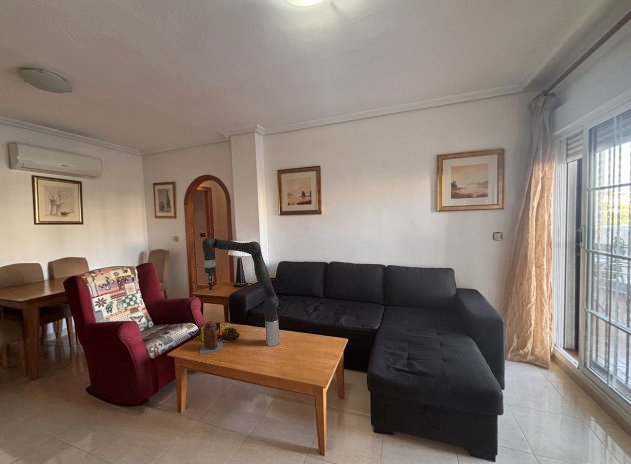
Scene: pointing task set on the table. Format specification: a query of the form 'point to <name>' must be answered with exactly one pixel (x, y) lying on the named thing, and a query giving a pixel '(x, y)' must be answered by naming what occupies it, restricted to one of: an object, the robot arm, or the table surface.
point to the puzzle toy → (215, 329)
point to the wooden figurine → (210, 335)
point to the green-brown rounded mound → (229, 334)
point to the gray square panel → (207, 350)
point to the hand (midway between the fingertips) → (211, 288)
